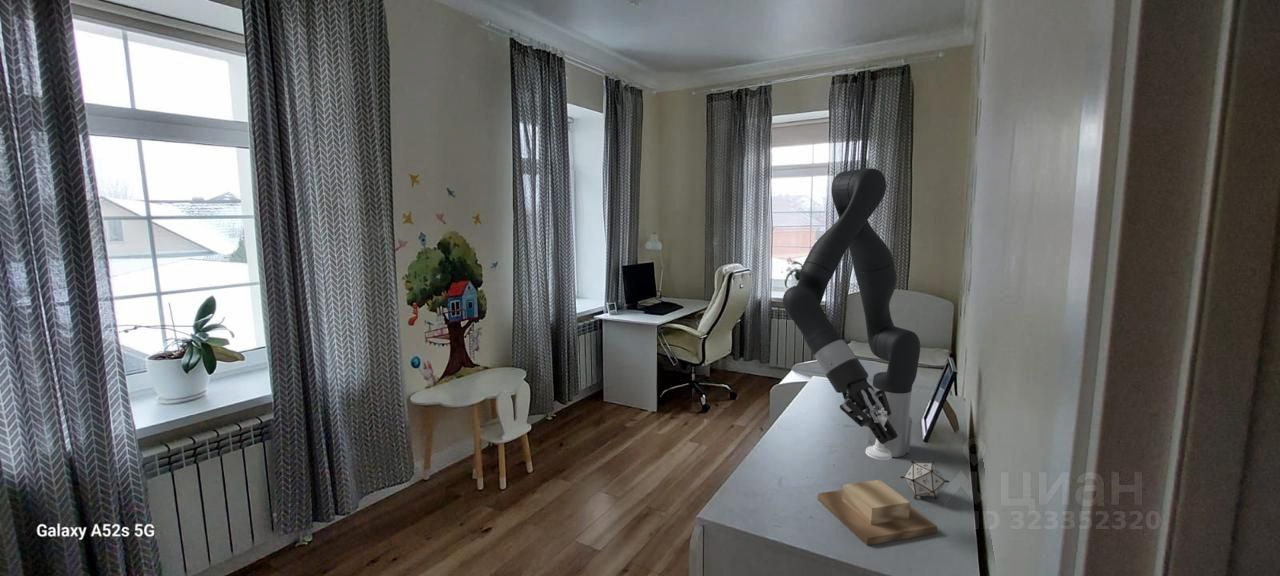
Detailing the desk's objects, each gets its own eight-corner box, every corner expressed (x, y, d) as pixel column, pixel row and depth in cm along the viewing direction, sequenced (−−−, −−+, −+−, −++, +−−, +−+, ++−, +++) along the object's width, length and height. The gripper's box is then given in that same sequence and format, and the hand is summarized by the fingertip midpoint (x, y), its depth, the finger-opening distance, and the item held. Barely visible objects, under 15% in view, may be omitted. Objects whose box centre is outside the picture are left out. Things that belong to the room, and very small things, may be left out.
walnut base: (879, 490, 117) (881, 470, 116) (936, 532, 102) (938, 509, 101) (817, 499, 113) (819, 478, 112) (866, 545, 98) (868, 521, 97)
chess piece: (894, 461, 103) (899, 413, 101) (868, 458, 104) (872, 411, 102) (888, 450, 108) (892, 404, 106) (862, 447, 109) (866, 402, 107)
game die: (928, 515, 114) (947, 497, 107) (891, 492, 118) (906, 473, 111) (940, 484, 119) (959, 465, 112) (904, 463, 123) (919, 443, 116)
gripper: (832, 362, 105) (884, 441, 97) (871, 352, 113) (922, 425, 105) (809, 379, 110) (856, 456, 102) (847, 369, 118) (894, 439, 110)
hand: (889, 440), depth 103 cm, fingers closed on chess piece
